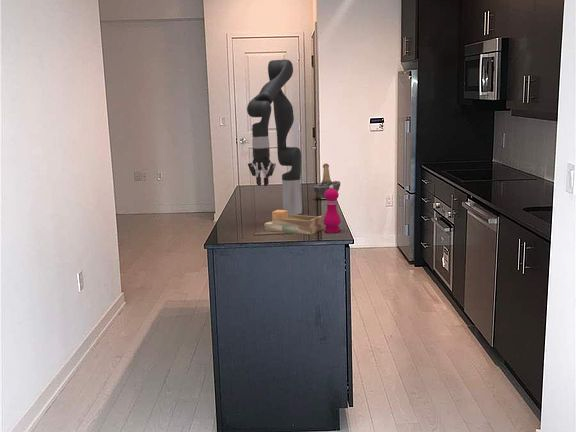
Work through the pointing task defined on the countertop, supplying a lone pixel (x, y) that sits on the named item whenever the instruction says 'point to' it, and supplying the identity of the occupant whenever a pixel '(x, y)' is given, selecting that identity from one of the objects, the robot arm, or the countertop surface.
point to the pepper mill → (331, 211)
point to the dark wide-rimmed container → (325, 183)
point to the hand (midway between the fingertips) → (262, 185)
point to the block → (280, 214)
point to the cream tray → (296, 224)
